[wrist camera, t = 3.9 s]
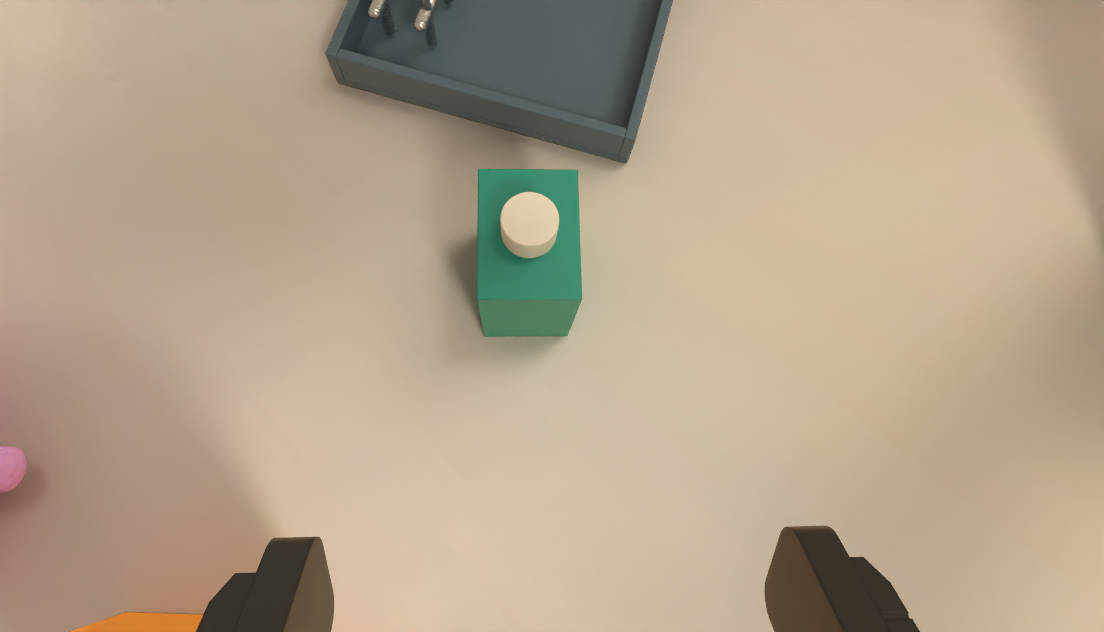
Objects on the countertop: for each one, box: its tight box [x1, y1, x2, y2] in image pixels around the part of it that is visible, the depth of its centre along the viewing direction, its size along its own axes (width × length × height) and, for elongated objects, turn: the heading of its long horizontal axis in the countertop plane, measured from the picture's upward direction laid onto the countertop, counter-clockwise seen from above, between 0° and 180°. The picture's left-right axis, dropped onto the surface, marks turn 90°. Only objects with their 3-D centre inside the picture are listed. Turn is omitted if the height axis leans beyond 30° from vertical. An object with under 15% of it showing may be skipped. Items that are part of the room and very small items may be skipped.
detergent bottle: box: [477, 169, 582, 336], centre depth 30 cm, size 4×6×8 cm
